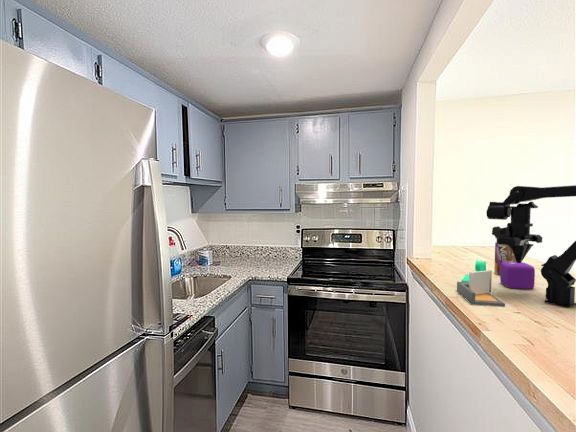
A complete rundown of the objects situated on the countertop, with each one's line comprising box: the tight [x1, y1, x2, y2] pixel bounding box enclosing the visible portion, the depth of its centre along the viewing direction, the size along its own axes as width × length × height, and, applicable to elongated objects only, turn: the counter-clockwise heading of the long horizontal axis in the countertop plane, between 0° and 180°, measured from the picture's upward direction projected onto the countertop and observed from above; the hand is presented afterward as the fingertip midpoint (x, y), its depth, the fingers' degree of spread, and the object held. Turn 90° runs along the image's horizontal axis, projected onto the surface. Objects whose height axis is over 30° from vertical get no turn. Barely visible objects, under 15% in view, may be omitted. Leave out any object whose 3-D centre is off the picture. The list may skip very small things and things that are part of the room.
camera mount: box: [461, 260, 487, 282], centre depth 129 cm, size 12×8×10 cm, turn 143°
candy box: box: [493, 241, 516, 276], centre depth 144 cm, size 9×4×15 cm, turn 13°
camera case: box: [456, 281, 506, 307], centre depth 112 cm, size 10×17×4 cm, turn 168°
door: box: [468, 269, 493, 295], centre depth 112 cm, size 1×10×8 cm, turn 109°
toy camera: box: [499, 261, 536, 290], centre depth 128 cm, size 11×14×10 cm
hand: (518, 262), depth 114 cm, fingers closed
